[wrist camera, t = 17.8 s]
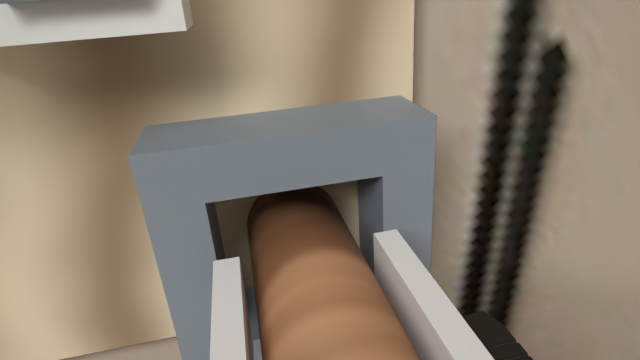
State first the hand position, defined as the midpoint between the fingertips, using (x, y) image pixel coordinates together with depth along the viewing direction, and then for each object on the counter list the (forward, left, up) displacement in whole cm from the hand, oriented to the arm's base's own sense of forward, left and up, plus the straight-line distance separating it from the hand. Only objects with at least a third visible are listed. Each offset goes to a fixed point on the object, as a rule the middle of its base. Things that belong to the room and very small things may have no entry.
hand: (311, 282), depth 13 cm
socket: (0, 0, -4) cm, 4 cm away
